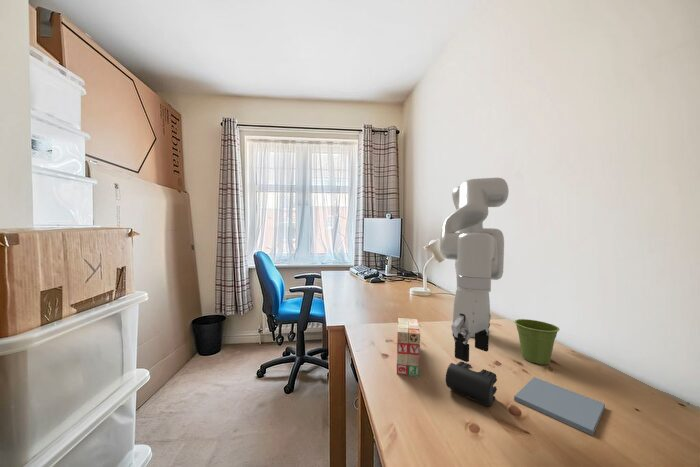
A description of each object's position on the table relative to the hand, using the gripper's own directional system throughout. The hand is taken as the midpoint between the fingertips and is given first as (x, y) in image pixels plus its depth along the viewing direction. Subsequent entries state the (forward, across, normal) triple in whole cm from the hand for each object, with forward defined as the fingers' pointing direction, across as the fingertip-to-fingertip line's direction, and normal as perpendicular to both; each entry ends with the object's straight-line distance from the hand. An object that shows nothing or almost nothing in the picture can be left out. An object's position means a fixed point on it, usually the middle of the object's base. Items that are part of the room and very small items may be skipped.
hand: (472, 354), depth 64 cm
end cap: (+11, -1, 0) cm, 11 cm away
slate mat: (+10, -15, +14) cm, 23 cm away
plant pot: (+10, -37, +3) cm, 38 cm away
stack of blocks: (+11, -4, -23) cm, 25 cm away
